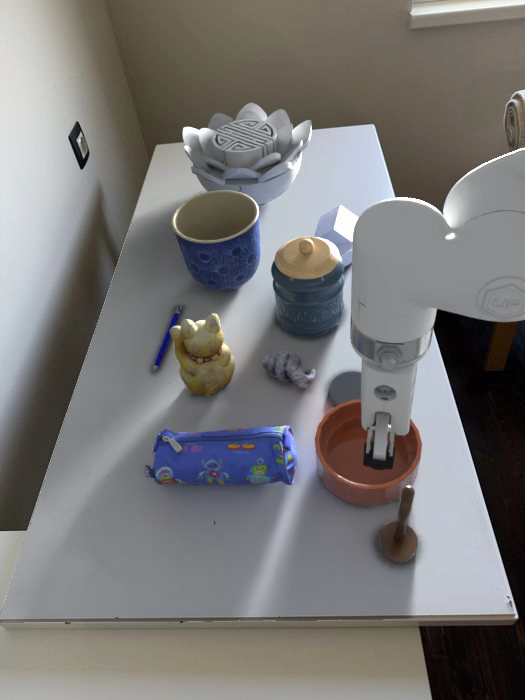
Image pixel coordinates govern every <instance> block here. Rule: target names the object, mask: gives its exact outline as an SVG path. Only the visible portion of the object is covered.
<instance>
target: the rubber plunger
mask: <svg viewBox="0 0 525 700" xmlns="http://www.w3.org/2000/svg"><path fill="white" fill-rule="evenodd" d="M415 492H416V491H415V488H414V487H413V486H405V487H404V488H403V490H402V495H401V497H400V501H399V505H398V510H397V511H398V512H397V517H396V521H395V522H390V523H388V524H386V525H385V526H383V528H382V529H381V531H380V534H379V540H378V546H379V551H380V552H381V554H382V556H383V558H385V559H386V560H387V561H389V562H391V563H394V564H399V565H401V564H402V565H403V564H406V563H408V562H410V561H411V560H413V559H414V558H415V556H416V553H417V550H418V545H419V539H418V536H417V533H416V531H415V530H414V529H413V528H412V527H411V526H409V520H410V516H411V511H412V507H413V503H414V497H415V494H416V493H415Z"/></svg>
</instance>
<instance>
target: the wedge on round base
mask: <svg viewBox="0 0 525 700" xmlns="http://www.w3.org/2000/svg"><path fill="white" fill-rule="evenodd" d="M358 218H359V216H357V215H355V214H354V213H352V212H351V211H350V210H348V209H347V208H345V206H343V205H341V204H340V205H339V206H337V207H334V208H333V209H331V210H330V211H327V212H326V213H324V214H323V215H320V217H319V219H318V222H317V226H316V229H315V232H314V235H313V237H318V238H322V239H325V240H327V241H329V242H331V243H332V244H334V245H335V246H336V248H337V249H338V251H339V255H340V256H341V258H342V260H343V262H344V268H346V267H348V266H349V265H352V239H353V230H354V226H355V224H356V221H357V219H358Z"/></svg>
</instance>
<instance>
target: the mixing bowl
mask: <svg viewBox="0 0 525 700" xmlns="http://www.w3.org/2000/svg"><path fill="white" fill-rule="evenodd" d="M376 418H377V417H375V420H374V423H376ZM389 425H390V418H389ZM314 435H315V436H314V450H315V451H314V452H315V463H316V464H315V465H316V471H317V474H318V475H319V477H320V479H321V481H322V482H323V485H324V486H325V487H326V488H327V489H328V490H329V491H330V492H331V493H332V494H333V495H334V496H336V497H337V498H339V499H341V500H342V501H343V500H344V501H345V502H347V503H349V504H353V505H356V506H362V507H377V506H378V507H379V506H384V505H387V504H390V503H393V502H394V501H397V500H399V499H401V495H402V490H403V488H404V487H405V486H411V487H413V484H414V483H415V480H416V478H417V476H418V474H419V473H418V471H419V468H420V463H421V457H422V449H423V442H422V437H421V434H420V431H419V429H418V427H417V425H416V424H415V422H414V421H413V420H412V418H410V426H409V432H408V433H407V434H406V435H396V434H395V436H394V447H395V456H394V463H393V469H390V470H389V469H384V470H374V469H372V468H371V467H366V466H364V465H363V458H364V444H365V443H367V435H368V429H367V431H366V430H365V429H364V428H363V427H362V417H361V399H358V400H351V401H348V402H345V403H342V404H340V405H338V406H337V405H335V407H333V408H332V409H330V410H329V411H328V412H327V413H326V414H325V415H324V416H323V418H322V419H321V420H320V422H319V423H318V424H317V428H316V432H315V434H314ZM374 440H375V431H373V435H372V441H374ZM387 443H389V433H388V436H387Z"/></svg>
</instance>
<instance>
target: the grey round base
mask: <svg viewBox="0 0 525 700" xmlns="http://www.w3.org/2000/svg"><path fill="white" fill-rule="evenodd" d="M329 397H330V399H331V401H332V403H333V404H335V406H338V405H340V404H342V403H345V402H348V401H351V400H358V399H361V371H352V370H351V371H345V372H342V373H340V374H338V375H336V376H335V377H334V378H333V379H332V381H331V382H330V385H329Z"/></svg>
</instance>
